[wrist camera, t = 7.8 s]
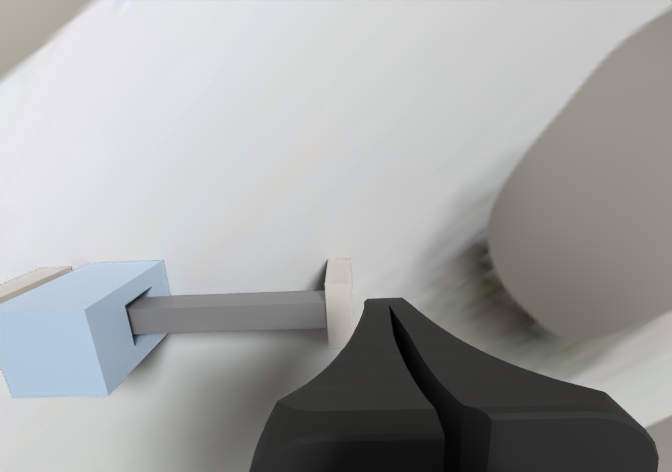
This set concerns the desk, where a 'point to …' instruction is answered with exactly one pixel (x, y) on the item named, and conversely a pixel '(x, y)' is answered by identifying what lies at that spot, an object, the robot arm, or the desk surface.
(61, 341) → the light blue sliding block
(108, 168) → the desk surface
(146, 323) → the grey bar rail
